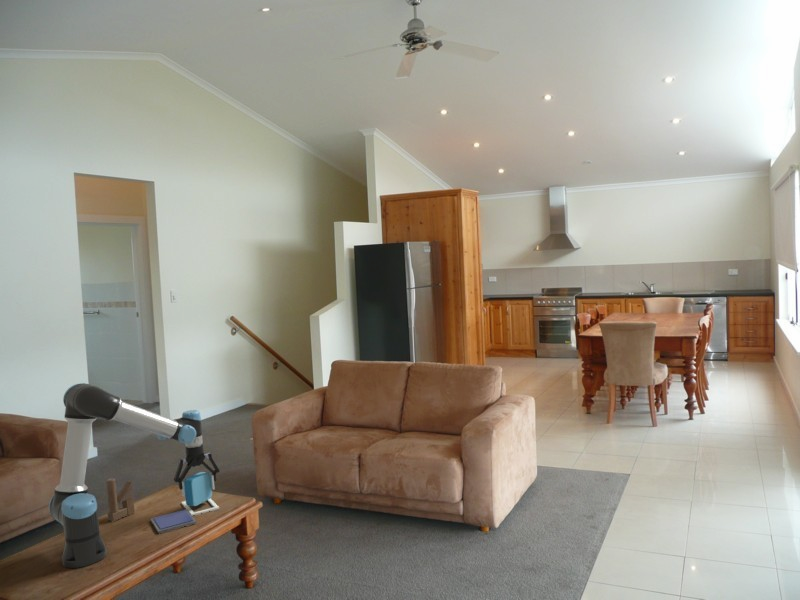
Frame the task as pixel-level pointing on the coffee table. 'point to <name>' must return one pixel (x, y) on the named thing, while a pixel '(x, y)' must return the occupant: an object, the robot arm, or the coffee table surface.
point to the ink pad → (172, 521)
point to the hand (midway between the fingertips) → (198, 492)
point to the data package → (198, 488)
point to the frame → (202, 510)
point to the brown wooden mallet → (119, 500)
